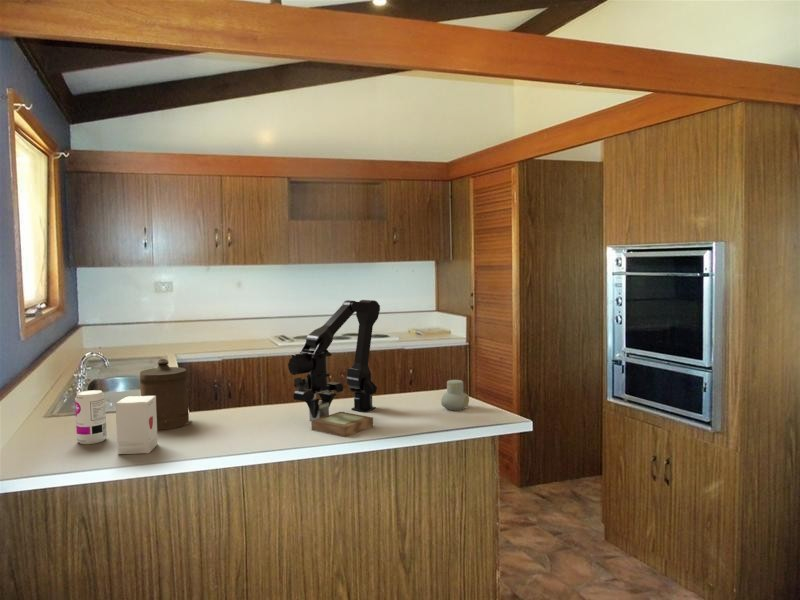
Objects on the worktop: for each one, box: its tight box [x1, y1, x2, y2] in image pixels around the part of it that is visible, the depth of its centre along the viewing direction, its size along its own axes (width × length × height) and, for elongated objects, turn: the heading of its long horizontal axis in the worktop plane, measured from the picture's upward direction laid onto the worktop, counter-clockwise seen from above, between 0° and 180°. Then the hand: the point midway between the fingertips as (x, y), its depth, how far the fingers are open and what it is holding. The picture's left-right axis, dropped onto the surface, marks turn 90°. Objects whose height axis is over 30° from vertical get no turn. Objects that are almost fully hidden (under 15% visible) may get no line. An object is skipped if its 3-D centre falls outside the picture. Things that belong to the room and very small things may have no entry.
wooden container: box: [139, 358, 190, 431], centre depth 212 cm, size 15×15×22 cm
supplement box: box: [115, 395, 159, 455], centre depth 185 cm, size 9×9×15 cm
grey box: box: [308, 400, 330, 422], centre depth 215 cm, size 5×5×6 cm
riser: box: [310, 411, 374, 438], centre depth 205 cm, size 14×14×3 cm
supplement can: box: [74, 389, 108, 445], centre depth 194 cm, size 8×8×15 cm
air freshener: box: [440, 379, 470, 411], centre depth 229 cm, size 11×8×10 cm
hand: (319, 416), depth 216 cm, fingers closed on grey box, 5 cm apart
